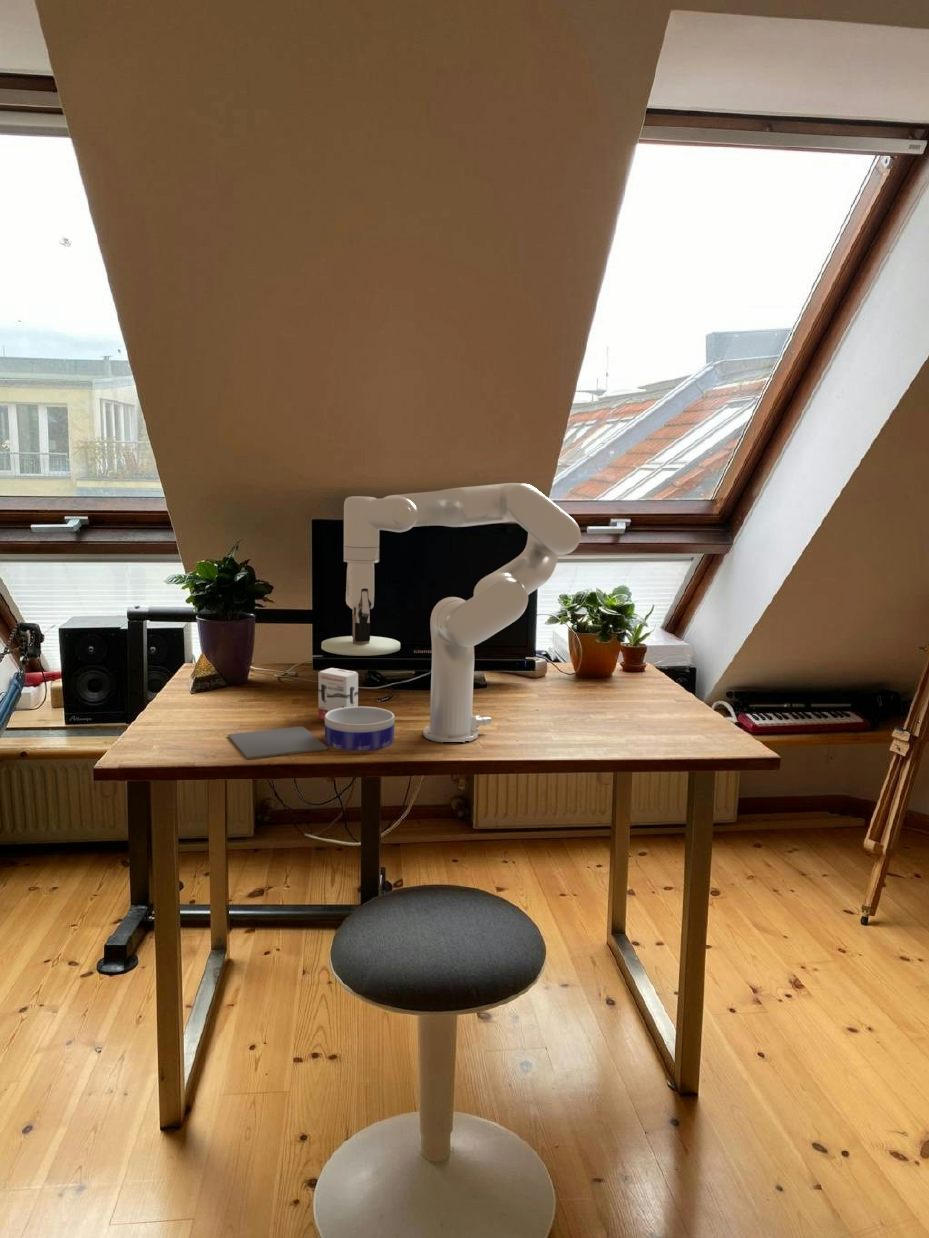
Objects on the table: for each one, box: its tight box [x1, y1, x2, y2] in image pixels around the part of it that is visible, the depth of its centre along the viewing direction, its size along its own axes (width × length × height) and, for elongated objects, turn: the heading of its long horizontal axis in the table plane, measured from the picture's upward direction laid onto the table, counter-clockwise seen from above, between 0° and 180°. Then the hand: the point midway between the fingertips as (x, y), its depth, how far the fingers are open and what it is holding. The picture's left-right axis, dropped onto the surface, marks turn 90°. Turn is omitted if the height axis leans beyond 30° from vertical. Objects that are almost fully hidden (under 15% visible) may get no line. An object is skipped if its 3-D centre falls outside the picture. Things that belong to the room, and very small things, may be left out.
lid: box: [320, 614, 401, 657], centre depth 187 cm, size 17×17×7 cm
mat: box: [227, 725, 328, 760], centre depth 187 cm, size 17×17×1 cm
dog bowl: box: [324, 705, 396, 752], centre depth 190 cm, size 15×15×6 cm
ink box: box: [317, 667, 359, 721], centre depth 206 cm, size 8×5×12 cm, turn 60°
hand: (360, 638), depth 187 cm, fingers closed on lid, 3 cm apart
